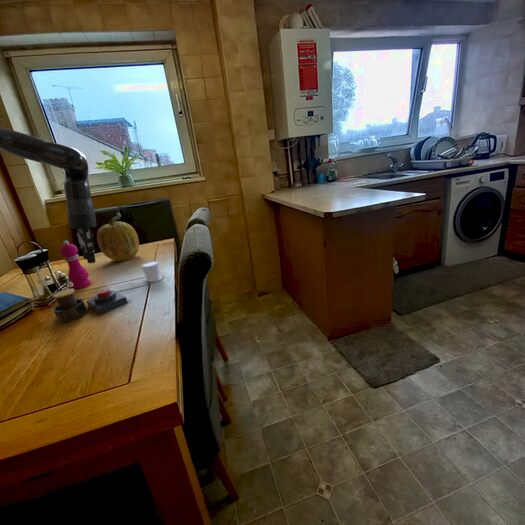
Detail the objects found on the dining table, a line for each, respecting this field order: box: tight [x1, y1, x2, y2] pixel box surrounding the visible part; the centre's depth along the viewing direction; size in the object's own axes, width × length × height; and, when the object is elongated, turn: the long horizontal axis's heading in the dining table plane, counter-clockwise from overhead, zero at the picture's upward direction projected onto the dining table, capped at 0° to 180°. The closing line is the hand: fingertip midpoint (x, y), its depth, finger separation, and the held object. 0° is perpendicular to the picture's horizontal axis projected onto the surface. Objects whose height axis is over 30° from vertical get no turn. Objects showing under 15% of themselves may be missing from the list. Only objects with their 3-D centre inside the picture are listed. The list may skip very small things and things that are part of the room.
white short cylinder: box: [141, 260, 162, 283], centre depth 114 cm, size 7×7×7 cm
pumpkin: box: [96, 212, 140, 262], centre depth 145 cm, size 19×19×25 cm
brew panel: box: [86, 289, 129, 315], centre depth 97 cm, size 9×11×4 cm
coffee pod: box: [52, 288, 78, 310], centre depth 91 cm, size 6×6×8 cm
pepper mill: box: [59, 240, 92, 290], centre depth 115 cm, size 7×7×20 cm
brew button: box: [97, 288, 110, 298], centre depth 96 cm, size 4×4×2 cm
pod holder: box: [52, 298, 88, 323], centre depth 92 cm, size 8×8×4 cm
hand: (89, 260), depth 95 cm, fingers open, 8 cm apart
